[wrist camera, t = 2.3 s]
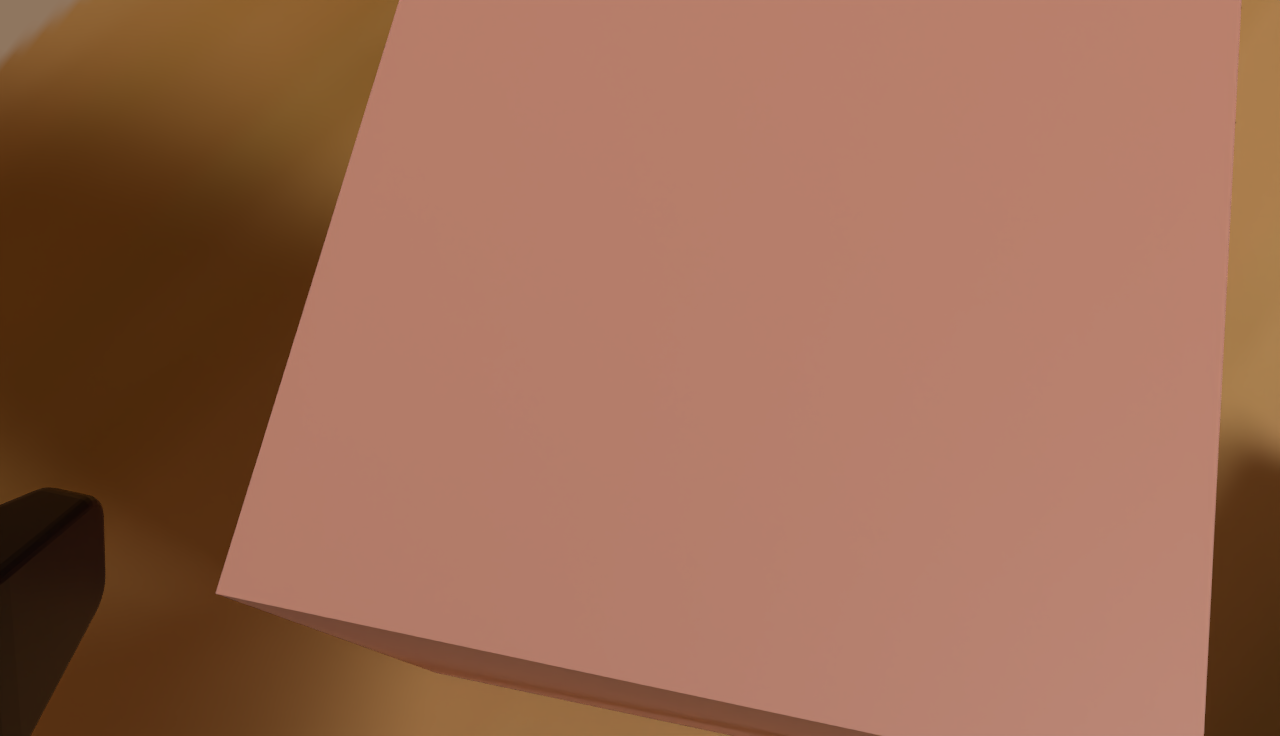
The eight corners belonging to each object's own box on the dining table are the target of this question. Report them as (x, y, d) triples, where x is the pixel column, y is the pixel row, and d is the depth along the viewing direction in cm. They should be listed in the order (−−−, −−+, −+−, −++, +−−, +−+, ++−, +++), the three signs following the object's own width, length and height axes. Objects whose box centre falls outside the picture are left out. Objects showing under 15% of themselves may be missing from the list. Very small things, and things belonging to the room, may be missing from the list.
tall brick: (745, 738, 18) (1199, 803, 6) (435, 672, 18) (214, 592, 6) (795, 438, 20) (1243, -28, 7) (509, 375, 20) (465, -210, 7)
